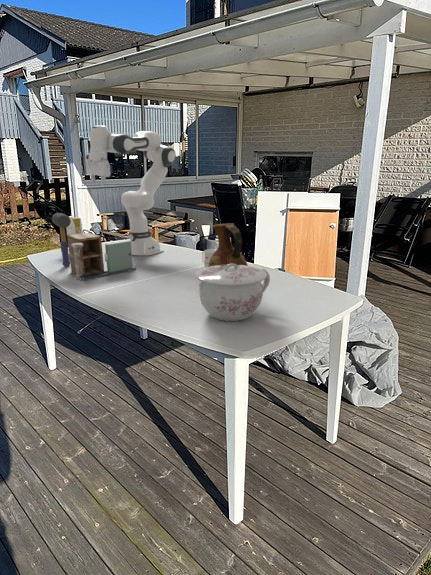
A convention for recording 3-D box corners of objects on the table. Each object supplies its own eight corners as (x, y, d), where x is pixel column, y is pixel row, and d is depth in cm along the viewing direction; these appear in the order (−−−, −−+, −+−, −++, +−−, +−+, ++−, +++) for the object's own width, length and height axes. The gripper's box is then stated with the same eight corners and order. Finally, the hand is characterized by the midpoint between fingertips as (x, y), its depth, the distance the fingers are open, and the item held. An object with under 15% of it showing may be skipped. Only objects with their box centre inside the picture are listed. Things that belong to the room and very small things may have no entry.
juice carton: (67, 253, 260) (63, 216, 253) (79, 251, 265) (75, 214, 258) (75, 255, 254) (70, 217, 247) (86, 253, 259) (82, 216, 252)
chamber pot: (187, 326, 147) (186, 271, 140) (203, 301, 172) (203, 253, 166) (264, 331, 142) (267, 275, 136) (269, 304, 168) (271, 256, 161)
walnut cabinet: (92, 268, 225) (88, 232, 218) (108, 274, 212) (104, 237, 206) (63, 273, 214) (59, 236, 208) (79, 280, 201) (74, 241, 195)
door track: (130, 267, 225) (130, 265, 225) (135, 269, 221) (135, 267, 221) (79, 278, 206) (79, 276, 205) (84, 280, 202) (84, 278, 201)
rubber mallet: (77, 267, 225) (70, 214, 216) (63, 270, 221) (56, 215, 212) (69, 263, 235) (63, 211, 226) (56, 265, 230) (49, 212, 221)
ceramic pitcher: (227, 277, 207) (227, 218, 198) (257, 285, 193) (259, 223, 184) (199, 285, 194) (198, 223, 185) (229, 294, 180) (230, 228, 171)
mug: (224, 270, 219) (224, 250, 215) (213, 274, 213) (213, 253, 209) (208, 266, 226) (208, 247, 223) (197, 270, 220) (196, 250, 217)
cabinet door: (130, 268, 223) (128, 240, 218) (133, 269, 221) (131, 241, 216) (105, 273, 213) (102, 244, 208) (108, 275, 211) (105, 245, 206)
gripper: (113, 159, 210) (112, 186, 214) (94, 156, 223) (94, 182, 227) (102, 158, 205) (102, 185, 209) (83, 155, 219) (83, 181, 223)
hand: (97, 184), depth 218 cm, fingers open, 8 cm apart
